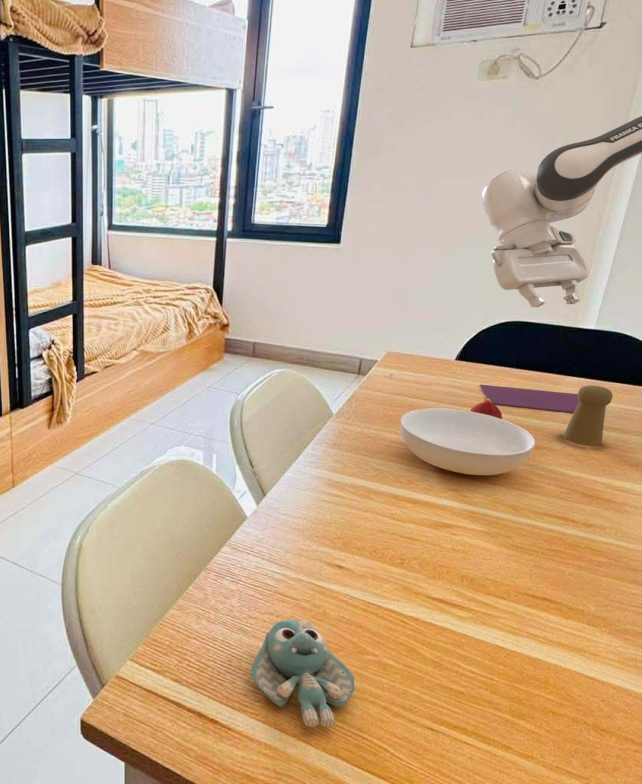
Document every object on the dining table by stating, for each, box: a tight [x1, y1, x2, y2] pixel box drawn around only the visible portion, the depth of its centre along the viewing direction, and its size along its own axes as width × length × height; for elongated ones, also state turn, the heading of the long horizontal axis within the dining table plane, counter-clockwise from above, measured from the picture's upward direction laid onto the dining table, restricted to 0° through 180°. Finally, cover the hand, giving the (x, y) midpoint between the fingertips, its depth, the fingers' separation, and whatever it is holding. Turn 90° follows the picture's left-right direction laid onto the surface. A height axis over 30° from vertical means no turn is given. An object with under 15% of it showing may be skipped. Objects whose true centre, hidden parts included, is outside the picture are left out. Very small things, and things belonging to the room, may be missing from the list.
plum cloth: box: [479, 383, 579, 414], centre depth 146 cm, size 20×14×1 cm
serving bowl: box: [400, 407, 536, 476], centre depth 115 cm, size 21×21×7 cm
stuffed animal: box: [250, 619, 355, 728], centre depth 66 cm, size 11×7×12 cm
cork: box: [562, 384, 613, 446], centre depth 123 cm, size 6×6×11 cm
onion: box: [469, 397, 503, 420], centre depth 126 cm, size 6×6×8 cm
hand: (556, 304), depth 125 cm, fingers open, 8 cm apart
